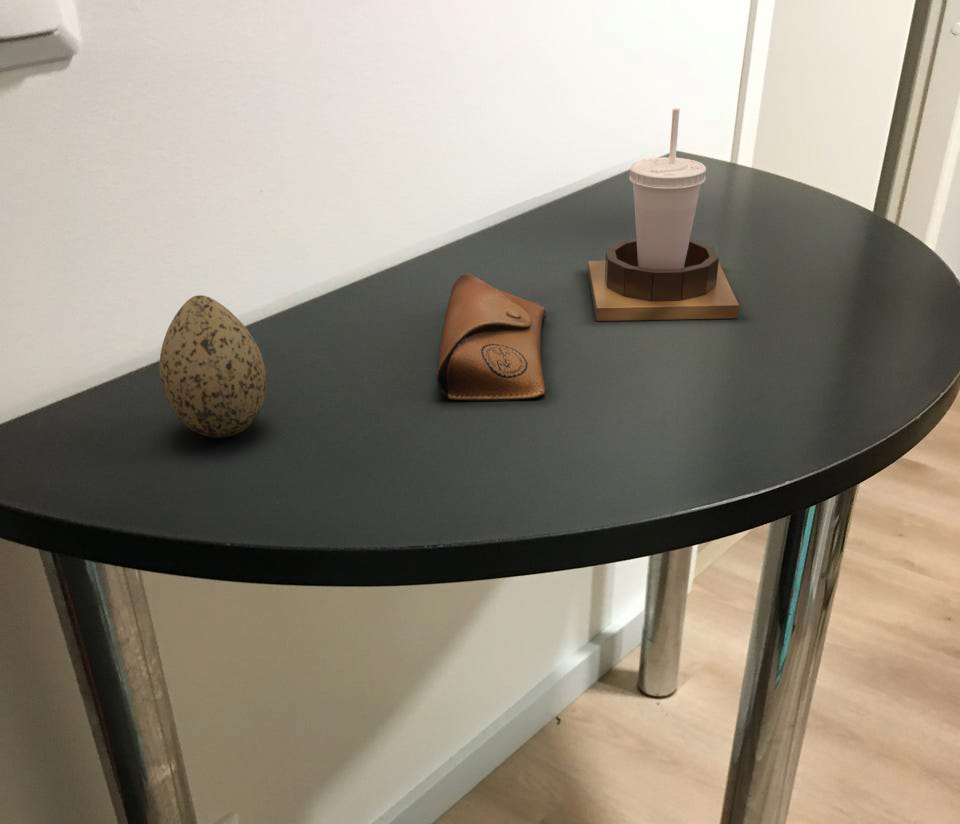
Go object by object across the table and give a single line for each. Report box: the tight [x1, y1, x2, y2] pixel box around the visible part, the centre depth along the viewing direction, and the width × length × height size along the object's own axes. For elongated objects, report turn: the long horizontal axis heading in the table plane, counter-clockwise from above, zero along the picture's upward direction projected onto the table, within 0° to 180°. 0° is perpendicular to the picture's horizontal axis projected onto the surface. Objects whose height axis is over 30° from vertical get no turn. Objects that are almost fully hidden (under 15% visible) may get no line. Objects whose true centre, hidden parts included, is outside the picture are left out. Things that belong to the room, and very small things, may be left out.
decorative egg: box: [158, 294, 268, 439], centre depth 76 cm, size 7×7×10 cm
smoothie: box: [628, 108, 707, 269], centre depth 94 cm, size 6×6×14 cm
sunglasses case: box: [436, 273, 547, 402], centre depth 89 cm, size 18×7×7 cm
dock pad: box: [587, 237, 740, 322], centre depth 98 cm, size 12×12×4 cm
